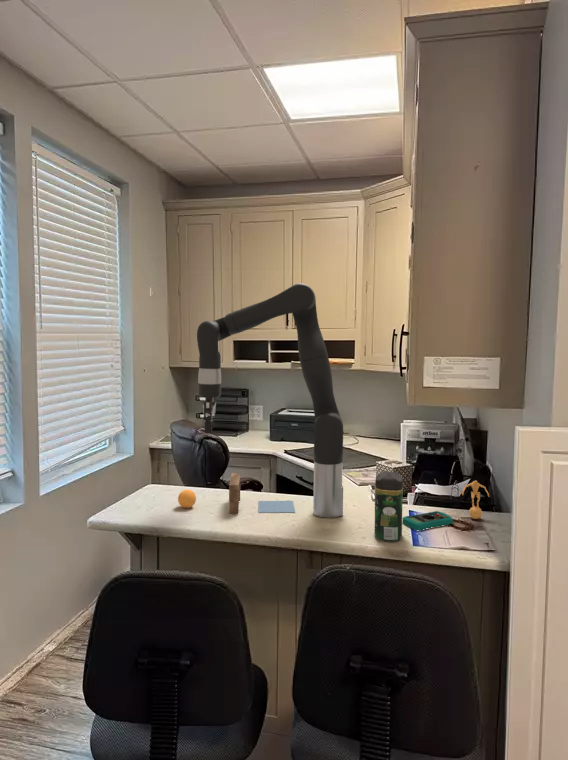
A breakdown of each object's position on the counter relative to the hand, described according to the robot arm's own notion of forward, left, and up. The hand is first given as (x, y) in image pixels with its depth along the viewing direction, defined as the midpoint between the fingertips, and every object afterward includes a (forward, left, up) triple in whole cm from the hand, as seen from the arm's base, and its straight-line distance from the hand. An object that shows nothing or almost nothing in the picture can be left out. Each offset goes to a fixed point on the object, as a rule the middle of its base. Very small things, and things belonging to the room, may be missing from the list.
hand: (209, 430), depth 172 cm
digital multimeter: (-69, +17, -27) cm, 76 cm away
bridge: (-9, 0, -26) cm, 28 cm away
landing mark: (-23, 0, -26) cm, 35 cm away
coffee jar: (-54, +27, -26) cm, 66 cm away
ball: (+7, 0, -23) cm, 24 cm away
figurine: (-86, +12, -26) cm, 91 cm away
